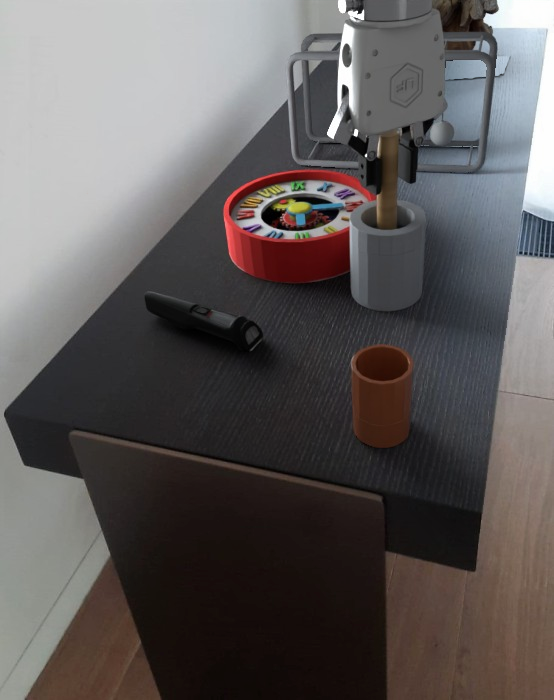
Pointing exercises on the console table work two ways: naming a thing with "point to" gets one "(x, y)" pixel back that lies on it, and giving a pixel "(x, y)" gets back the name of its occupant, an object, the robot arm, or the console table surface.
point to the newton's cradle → (438, 133)
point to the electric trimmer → (205, 319)
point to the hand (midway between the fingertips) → (387, 183)
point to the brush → (388, 180)
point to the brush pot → (382, 395)
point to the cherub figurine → (464, 19)
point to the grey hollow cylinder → (387, 257)
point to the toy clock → (293, 225)
